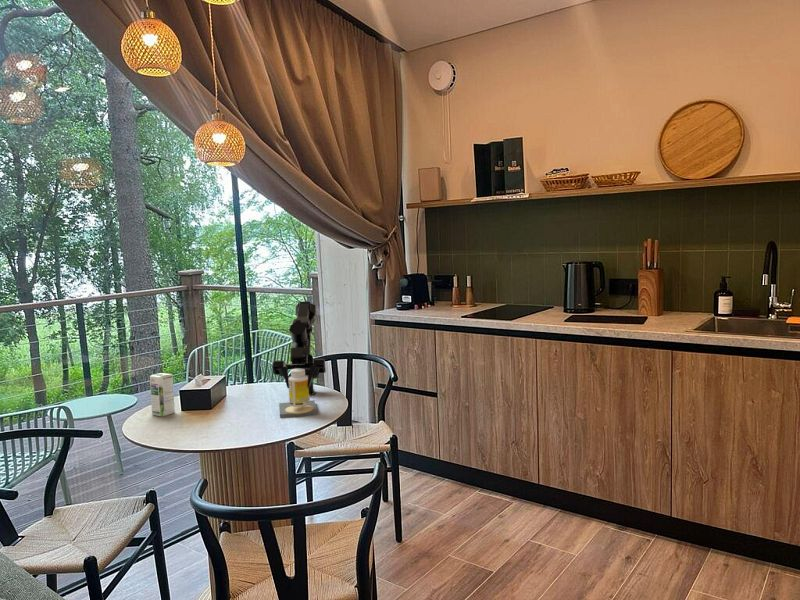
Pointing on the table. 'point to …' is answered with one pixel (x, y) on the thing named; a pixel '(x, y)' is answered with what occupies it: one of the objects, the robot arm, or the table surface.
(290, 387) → the supplement bottle
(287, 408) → the plate
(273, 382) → the table surface
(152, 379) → the syrup box
